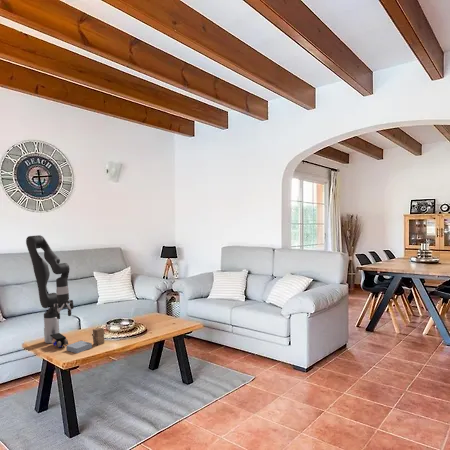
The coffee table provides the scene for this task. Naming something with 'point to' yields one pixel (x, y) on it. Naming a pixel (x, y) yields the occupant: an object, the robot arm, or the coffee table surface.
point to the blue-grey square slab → (79, 346)
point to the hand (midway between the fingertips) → (64, 317)
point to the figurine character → (59, 340)
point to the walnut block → (98, 336)
